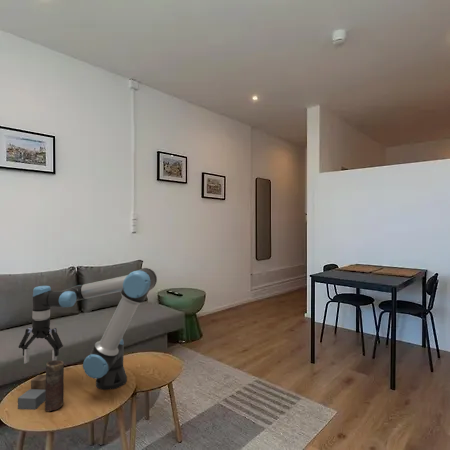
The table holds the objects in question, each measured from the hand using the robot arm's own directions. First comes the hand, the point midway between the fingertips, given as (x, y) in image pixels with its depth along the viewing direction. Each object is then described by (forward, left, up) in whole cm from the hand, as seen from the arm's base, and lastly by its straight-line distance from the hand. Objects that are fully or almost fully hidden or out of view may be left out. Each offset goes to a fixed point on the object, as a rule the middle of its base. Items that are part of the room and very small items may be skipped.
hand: (40, 362), depth 156 cm
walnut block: (0, 0, -15) cm, 15 cm away
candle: (-13, +11, -15) cm, 23 cm away
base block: (-2, +9, -15) cm, 18 cm away
